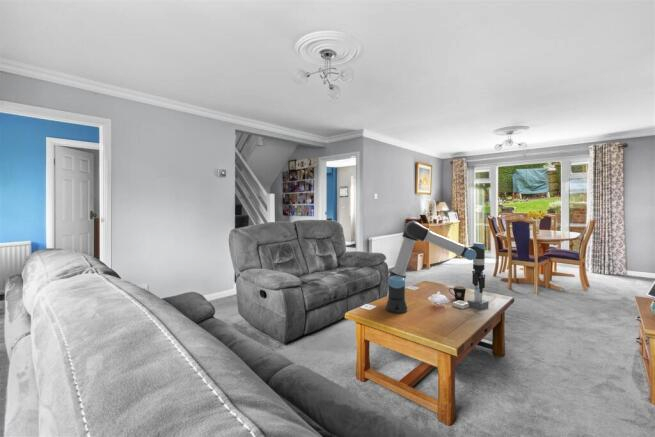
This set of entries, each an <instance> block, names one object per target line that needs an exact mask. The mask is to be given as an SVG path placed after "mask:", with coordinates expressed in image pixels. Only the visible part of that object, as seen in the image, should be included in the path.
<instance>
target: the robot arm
mask: <svg viewBox="0 0 655 437" xmlns="http://www.w3.org/2000/svg"><path fill="white" fill-rule="evenodd" d="M402 238H403V240H402V243H401V247H400V249H399V252H398V256H397V258H396V262H395V265H394V268H393V269H391V270H390V273H389V275H388V277H387V288H388V289H387V290H388V291H387V292H388V295H387V296H388V298H387V302H386V304H385V310H386V311H387V312H389V313H392V314H406V313H407V312H408V306H407V302H406V277H407V274H406V271H407V267H408V264H409V262H410V259H411V256H412V252H413V250H414V247H415V244H416V243H417V242H418V241H421V242H426V243H429V244H432V245H434V246H437V247H439V248H441V249H444V250H446V251H448V252H451V253H452V254H455V255H456V256H459V257H462V258H465V259H466V260H468V261H472V269H473V270H472V271H471V273H472V282H471V283H472V285H473V286H474V288H473V295H474V296H475V288H476V287H479V288H478V297H482V298H483V293H484V292H483V291H484V290H483V289H485V288H486V287H485V286H486V274H484V270H485V262H486V259H485V256H486V255H485V253H486V245H485V243H484V242H477V241H476V242H473V244H472V245H465V244H461V243H459V242H457V241H454V240H452V239H450V238H447V237H445V236H442V235H440V234H437V233H435V232H433V231H430V229H429V228H427V227H425V226H424V225H422V224H421V223H419V222H418V221H416V220H410V221H408V222H406V224H405V225H404V230H403V232H402Z"/></svg>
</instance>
